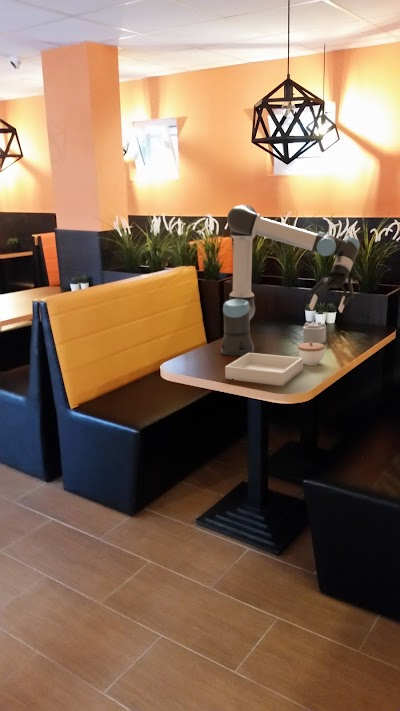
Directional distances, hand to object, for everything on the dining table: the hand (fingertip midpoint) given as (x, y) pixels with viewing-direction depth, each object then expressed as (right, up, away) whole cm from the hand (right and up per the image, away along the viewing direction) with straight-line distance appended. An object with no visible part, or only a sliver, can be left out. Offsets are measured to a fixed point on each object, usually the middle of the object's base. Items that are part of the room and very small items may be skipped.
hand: (325, 309), depth 251 cm
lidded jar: (-6, -23, -2) cm, 24 cm away
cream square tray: (-27, -27, -14) cm, 41 cm away
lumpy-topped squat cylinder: (+3, -12, +35) cm, 37 cm away
